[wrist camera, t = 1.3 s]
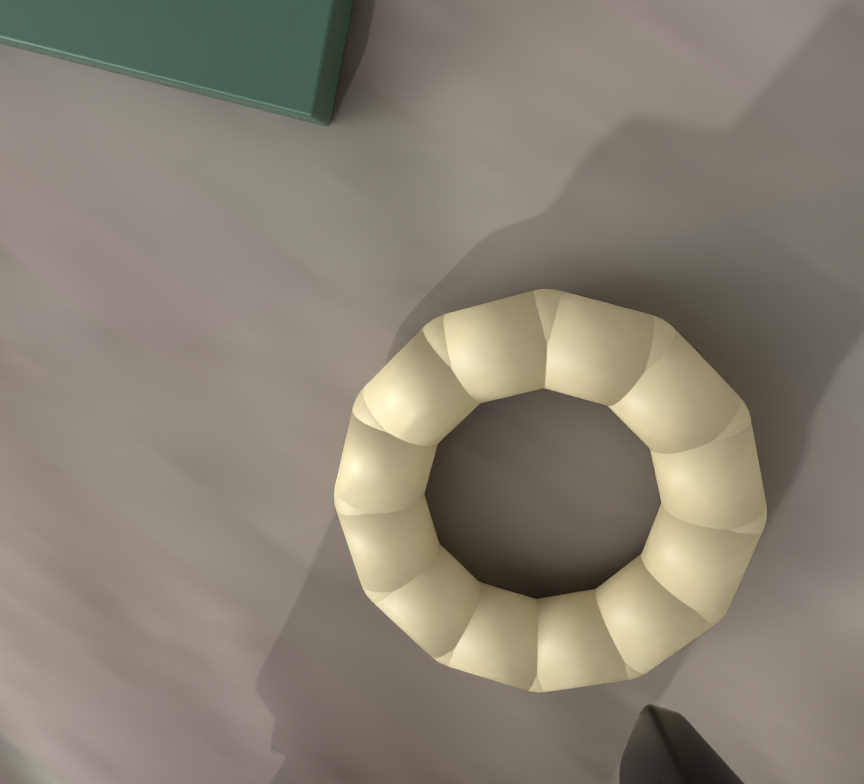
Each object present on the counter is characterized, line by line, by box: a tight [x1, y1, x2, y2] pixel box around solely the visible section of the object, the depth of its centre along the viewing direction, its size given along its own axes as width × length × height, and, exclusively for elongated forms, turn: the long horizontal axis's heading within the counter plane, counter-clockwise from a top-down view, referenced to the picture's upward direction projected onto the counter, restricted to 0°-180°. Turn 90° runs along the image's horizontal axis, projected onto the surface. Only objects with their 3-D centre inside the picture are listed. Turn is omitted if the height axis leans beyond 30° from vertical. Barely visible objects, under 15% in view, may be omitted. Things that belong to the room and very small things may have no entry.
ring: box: [334, 289, 767, 692], centre depth 14 cm, size 9×9×2 cm
